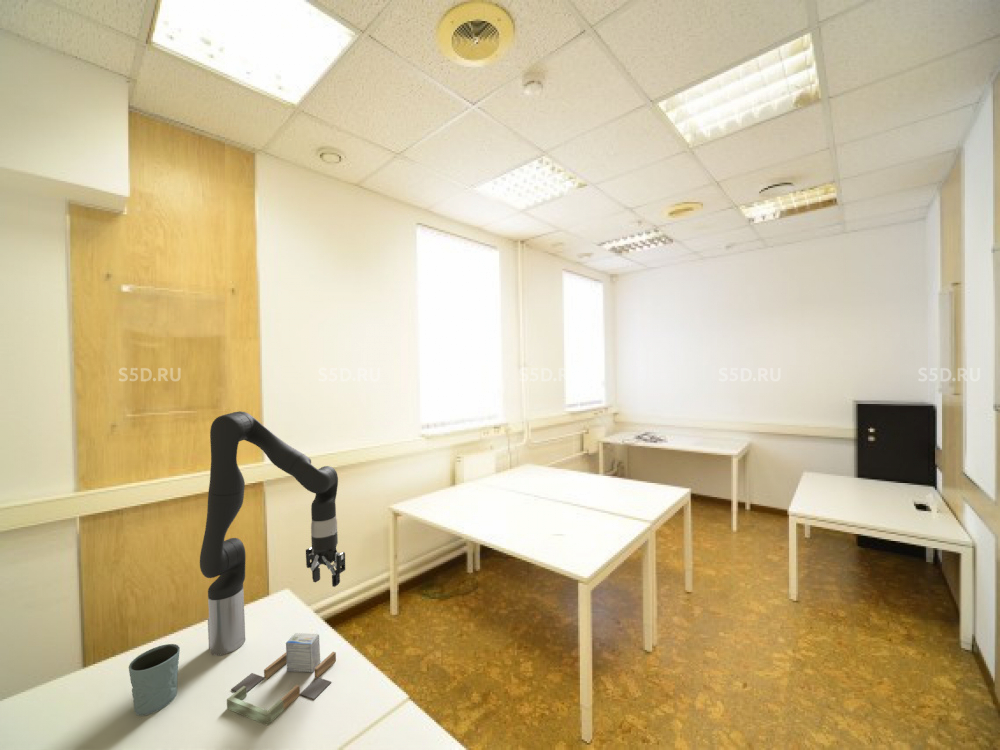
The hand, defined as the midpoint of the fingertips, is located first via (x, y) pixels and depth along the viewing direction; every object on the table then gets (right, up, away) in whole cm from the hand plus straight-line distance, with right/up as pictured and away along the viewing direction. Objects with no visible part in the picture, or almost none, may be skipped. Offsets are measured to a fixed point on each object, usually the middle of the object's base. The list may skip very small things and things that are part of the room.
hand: (326, 583), depth 124 cm
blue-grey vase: (-37, -21, -19) cm, 47 cm away
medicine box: (-3, -20, -9) cm, 22 cm away
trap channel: (-5, -20, -14) cm, 25 cm away
